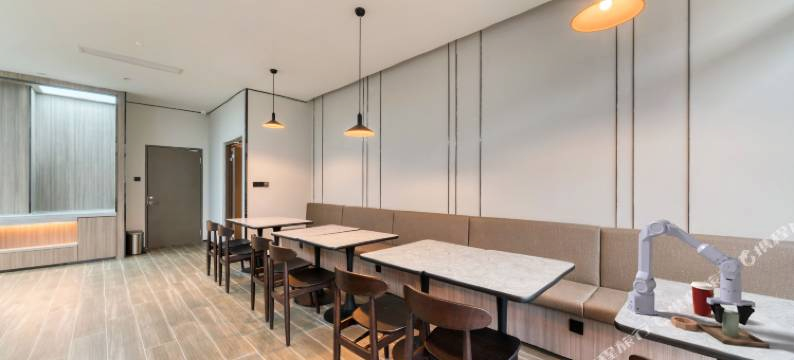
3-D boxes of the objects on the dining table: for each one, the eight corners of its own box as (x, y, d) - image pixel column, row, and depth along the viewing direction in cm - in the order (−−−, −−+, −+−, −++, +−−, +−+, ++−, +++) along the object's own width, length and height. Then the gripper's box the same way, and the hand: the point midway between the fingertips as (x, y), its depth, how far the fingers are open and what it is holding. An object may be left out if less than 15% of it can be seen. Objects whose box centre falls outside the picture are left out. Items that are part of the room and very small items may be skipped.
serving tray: (723, 343, 115) (723, 340, 115) (696, 326, 129) (696, 322, 129) (769, 348, 112) (769, 344, 112) (736, 329, 126) (736, 326, 126)
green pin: (728, 337, 119) (728, 314, 119) (719, 331, 123) (719, 309, 123) (742, 338, 118) (742, 315, 118) (732, 332, 122) (732, 310, 122)
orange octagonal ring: (679, 329, 126) (679, 323, 126) (667, 321, 133) (667, 315, 133) (701, 331, 124) (701, 325, 124) (688, 322, 132) (688, 317, 132)
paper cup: (719, 318, 135) (719, 287, 135) (698, 317, 137) (698, 286, 137) (705, 311, 143) (705, 281, 143) (686, 309, 145) (686, 280, 145)
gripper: (716, 291, 118) (716, 326, 118) (763, 294, 115) (762, 330, 115) (702, 285, 125) (702, 318, 125) (746, 287, 122) (746, 321, 122)
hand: (730, 323), depth 120 cm, fingers open, 7 cm apart
